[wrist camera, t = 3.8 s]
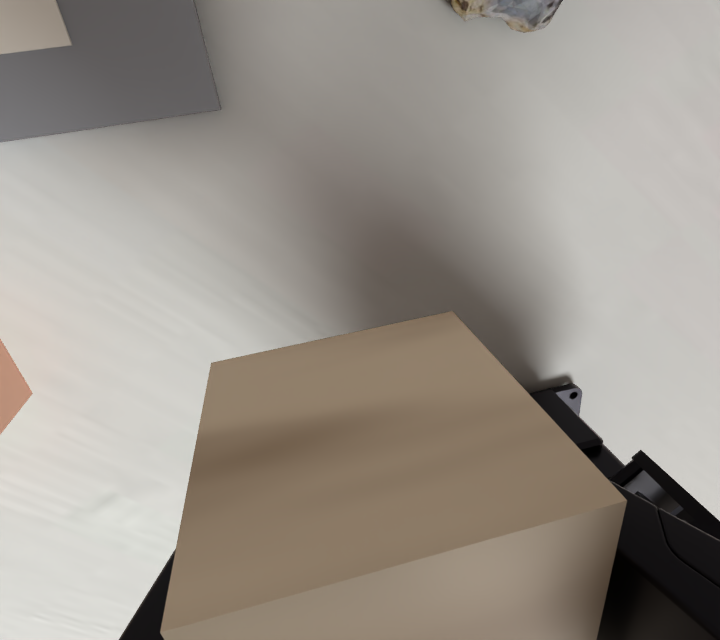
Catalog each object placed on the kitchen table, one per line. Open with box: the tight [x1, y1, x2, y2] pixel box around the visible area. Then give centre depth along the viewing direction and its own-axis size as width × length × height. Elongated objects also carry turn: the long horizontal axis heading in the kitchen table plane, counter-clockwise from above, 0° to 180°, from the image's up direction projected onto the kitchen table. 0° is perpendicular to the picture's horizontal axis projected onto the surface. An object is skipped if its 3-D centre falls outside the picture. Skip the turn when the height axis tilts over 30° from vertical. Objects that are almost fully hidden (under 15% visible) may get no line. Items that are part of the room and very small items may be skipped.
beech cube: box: [160, 311, 627, 640], centre depth 8 cm, size 5×5×5 cm
